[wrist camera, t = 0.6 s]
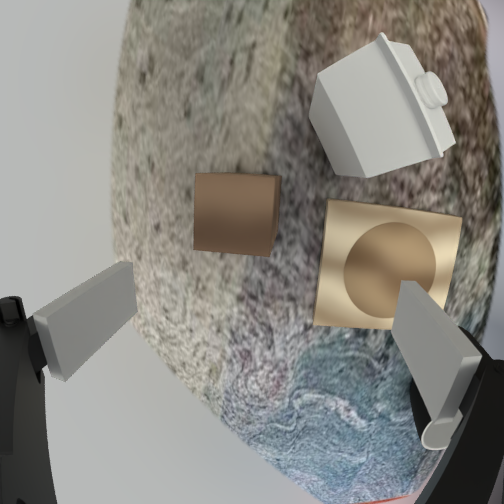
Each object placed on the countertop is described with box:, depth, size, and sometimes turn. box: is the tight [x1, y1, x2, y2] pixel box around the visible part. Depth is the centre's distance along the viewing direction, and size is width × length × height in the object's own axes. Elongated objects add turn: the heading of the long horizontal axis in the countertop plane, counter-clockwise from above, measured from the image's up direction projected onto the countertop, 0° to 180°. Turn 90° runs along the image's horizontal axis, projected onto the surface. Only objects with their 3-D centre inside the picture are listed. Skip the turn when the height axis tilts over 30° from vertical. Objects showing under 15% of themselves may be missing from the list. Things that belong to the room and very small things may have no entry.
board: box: [313, 198, 462, 330], centre depth 32 cm, size 14×16×2 cm
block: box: [194, 172, 282, 257], centre depth 29 cm, size 6×6×11 cm
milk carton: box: [308, 33, 455, 178], centre depth 21 cm, size 7×7×19 cm
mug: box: [410, 380, 463, 450], centre depth 31 cm, size 12×9×10 cm
